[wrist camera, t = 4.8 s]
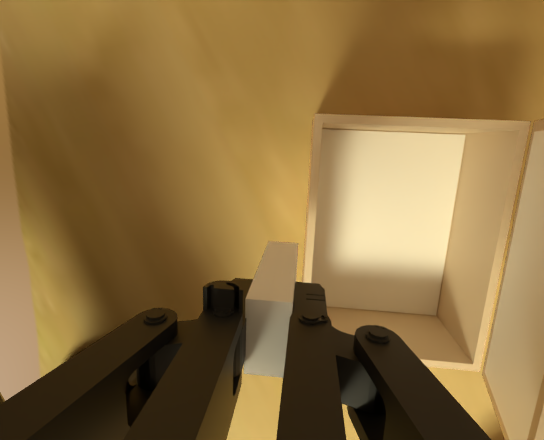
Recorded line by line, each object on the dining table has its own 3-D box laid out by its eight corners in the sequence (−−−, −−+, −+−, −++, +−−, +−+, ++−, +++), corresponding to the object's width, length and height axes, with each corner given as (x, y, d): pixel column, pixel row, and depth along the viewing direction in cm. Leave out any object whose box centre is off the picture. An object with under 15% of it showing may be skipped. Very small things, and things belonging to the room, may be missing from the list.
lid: (495, 592, 11) (585, 629, 10) (627, 78, 8) (779, 75, 7) (448, 366, 23) (488, 376, 22) (492, 120, 19) (542, 120, 19)
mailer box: (300, 307, 30) (298, 354, 24) (312, 121, 27) (314, 113, 20) (439, 319, 29) (479, 371, 23) (471, 127, 26) (530, 121, 19)
